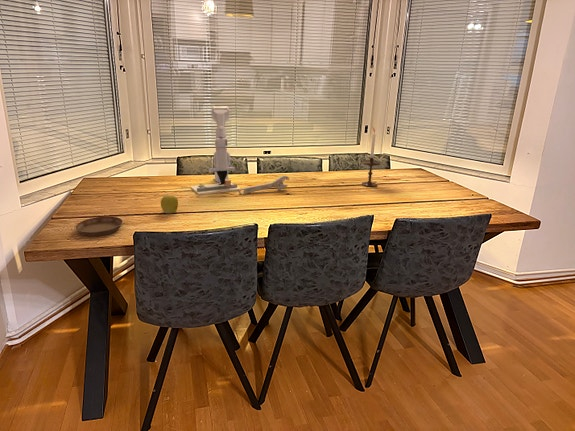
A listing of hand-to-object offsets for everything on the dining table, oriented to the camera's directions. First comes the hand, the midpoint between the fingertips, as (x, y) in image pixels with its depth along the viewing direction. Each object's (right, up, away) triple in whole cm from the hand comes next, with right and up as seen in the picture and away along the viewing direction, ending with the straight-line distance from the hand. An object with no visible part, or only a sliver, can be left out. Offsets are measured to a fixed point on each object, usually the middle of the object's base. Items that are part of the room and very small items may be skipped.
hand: (222, 184), depth 225 cm
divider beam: (-5, -3, +3) cm, 6 cm away
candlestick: (+86, +1, +20) cm, 88 cm away
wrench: (+24, -4, +1) cm, 24 cm away
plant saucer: (-41, -24, -59) cm, 76 cm away
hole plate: (-5, -3, +3) cm, 6 cm away
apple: (-19, -16, -36) cm, 44 cm away
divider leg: (+1, 0, +5) cm, 5 cm away
